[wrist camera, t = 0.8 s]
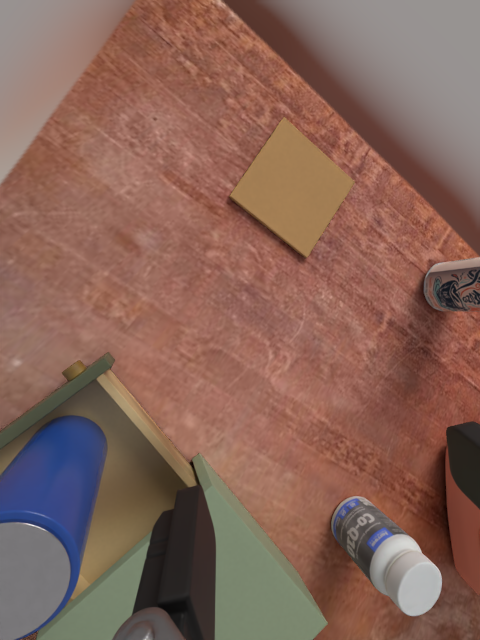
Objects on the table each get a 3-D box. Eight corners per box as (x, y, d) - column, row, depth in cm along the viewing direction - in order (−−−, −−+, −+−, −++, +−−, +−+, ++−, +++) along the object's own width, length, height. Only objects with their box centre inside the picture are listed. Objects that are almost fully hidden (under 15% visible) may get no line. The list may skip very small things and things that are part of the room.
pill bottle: (344, 487, 32) (412, 547, 24) (380, 505, 33) (457, 568, 25) (320, 534, 32) (382, 612, 24) (358, 550, 33) (429, 630, 25)
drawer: (-60, 459, 23) (-89, 481, 20) (101, 343, 25) (96, 348, 23) (95, 608, 26) (89, 645, 23) (224, 491, 28) (234, 512, 26)
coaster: (228, 197, 28) (229, 195, 28) (282, 119, 29) (284, 116, 29) (305, 258, 30) (307, 257, 30) (352, 183, 31) (355, 182, 31)
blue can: (10, 449, 23) (-120, 592, 12) (76, 400, 25) (17, 486, 13) (61, 501, 24) (-12, 681, 13) (122, 452, 26) (107, 576, 14)
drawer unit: (55, 575, 25) (34, 642, 20) (199, 452, 28) (212, 484, 23) (178, 692, 28) (186, 777, 23) (297, 571, 31) (328, 623, 26)
